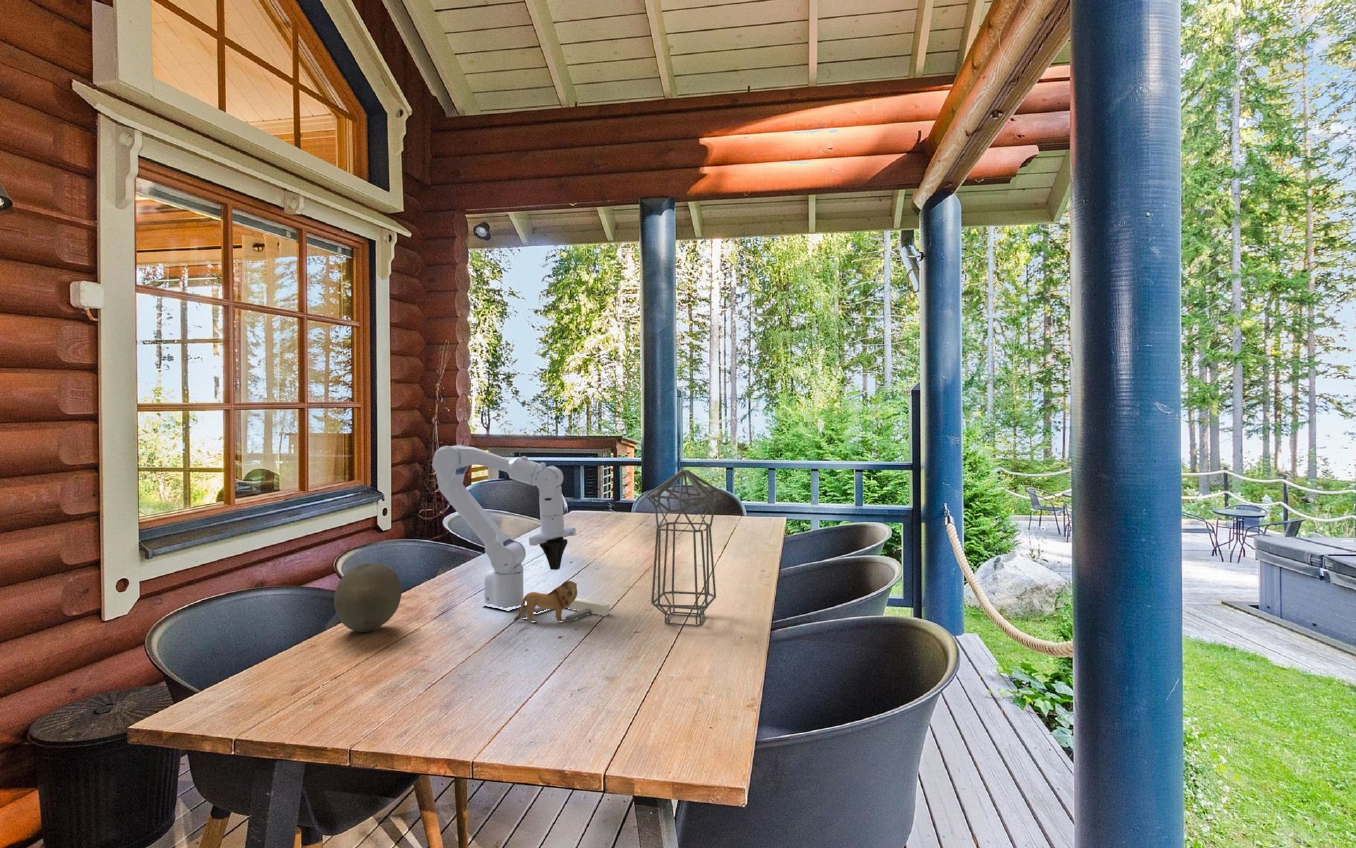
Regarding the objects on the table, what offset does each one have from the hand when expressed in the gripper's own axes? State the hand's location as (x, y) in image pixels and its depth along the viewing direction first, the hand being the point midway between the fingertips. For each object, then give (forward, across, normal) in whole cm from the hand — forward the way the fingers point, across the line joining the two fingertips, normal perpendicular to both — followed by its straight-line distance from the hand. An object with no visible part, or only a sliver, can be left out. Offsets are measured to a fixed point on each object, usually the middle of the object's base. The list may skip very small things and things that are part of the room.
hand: (555, 569), depth 166 cm
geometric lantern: (+11, +8, -33) cm, 36 cm away
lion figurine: (+10, -9, -6) cm, 15 cm away
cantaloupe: (+8, -37, +22) cm, 43 cm away
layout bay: (+10, -4, -5) cm, 12 cm away
